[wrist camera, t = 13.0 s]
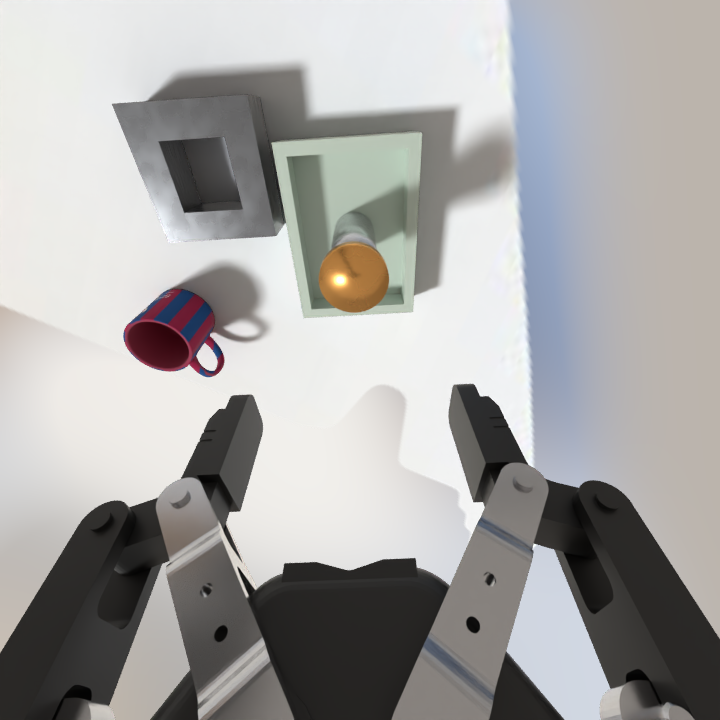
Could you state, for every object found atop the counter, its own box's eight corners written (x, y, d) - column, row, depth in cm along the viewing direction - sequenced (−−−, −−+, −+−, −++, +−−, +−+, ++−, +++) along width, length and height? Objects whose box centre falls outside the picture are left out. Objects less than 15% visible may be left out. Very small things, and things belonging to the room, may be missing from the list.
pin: (326, 207, 31) (313, 248, 21) (378, 204, 31) (389, 243, 21) (332, 258, 34) (323, 314, 24) (379, 255, 34) (389, 310, 24)
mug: (182, 278, 36) (151, 306, 30) (246, 340, 41) (229, 374, 36) (144, 306, 38) (108, 338, 32) (209, 362, 43) (188, 398, 38)
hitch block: (140, 105, 27) (111, 103, 23) (259, 97, 26) (247, 94, 23) (186, 230, 33) (168, 242, 29) (283, 224, 32) (276, 236, 29)
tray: (279, 140, 28) (271, 142, 25) (415, 131, 28) (422, 132, 25) (307, 303, 38) (303, 318, 35) (408, 298, 38) (413, 312, 35)
